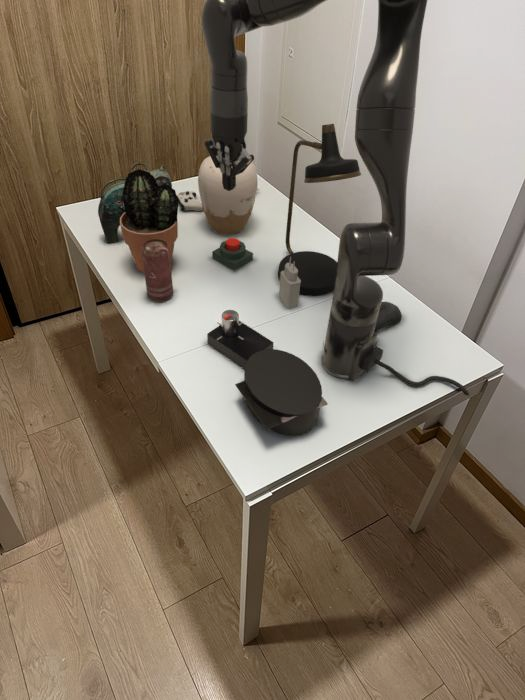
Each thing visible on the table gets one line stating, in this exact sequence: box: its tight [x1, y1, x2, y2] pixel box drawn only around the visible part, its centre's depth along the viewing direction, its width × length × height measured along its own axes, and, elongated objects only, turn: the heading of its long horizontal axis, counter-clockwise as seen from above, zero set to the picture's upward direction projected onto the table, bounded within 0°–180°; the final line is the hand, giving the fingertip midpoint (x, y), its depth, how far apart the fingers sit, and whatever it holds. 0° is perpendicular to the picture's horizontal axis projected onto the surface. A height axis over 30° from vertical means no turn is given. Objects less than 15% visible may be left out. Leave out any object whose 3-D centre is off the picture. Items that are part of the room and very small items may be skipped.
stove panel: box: [206, 320, 274, 370], centre depth 115 cm, size 13×8×3 cm, turn 48°
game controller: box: [176, 190, 204, 212], centre depth 158 cm, size 10×5×6 cm
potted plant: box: [119, 168, 179, 273], centre depth 128 cm, size 14×14×25 cm
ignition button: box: [225, 237, 241, 251], centre depth 136 cm, size 4×4×2 cm
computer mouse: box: [374, 301, 402, 345], centre depth 122 cm, size 10×15×4 cm
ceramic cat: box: [97, 162, 173, 244], centre depth 139 cm, size 20×6×20 cm, turn 115°
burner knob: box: [221, 309, 240, 337], centre depth 113 cm, size 4×4×5 cm
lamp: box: [277, 123, 362, 297], centre depth 123 cm, size 16×22×38 cm
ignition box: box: [211, 239, 254, 272], centre depth 138 cm, size 8×7×4 cm
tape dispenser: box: [234, 348, 329, 437], centre depth 103 cm, size 14×18×8 cm
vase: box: [197, 155, 258, 236], centre depth 143 cm, size 16×16×23 cm
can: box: [142, 239, 174, 303], centre depth 123 cm, size 6×6×14 cm
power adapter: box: [278, 257, 301, 309], centre depth 124 cm, size 3×5×12 cm, turn 24°
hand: (228, 188), depth 119 cm, fingers closed
